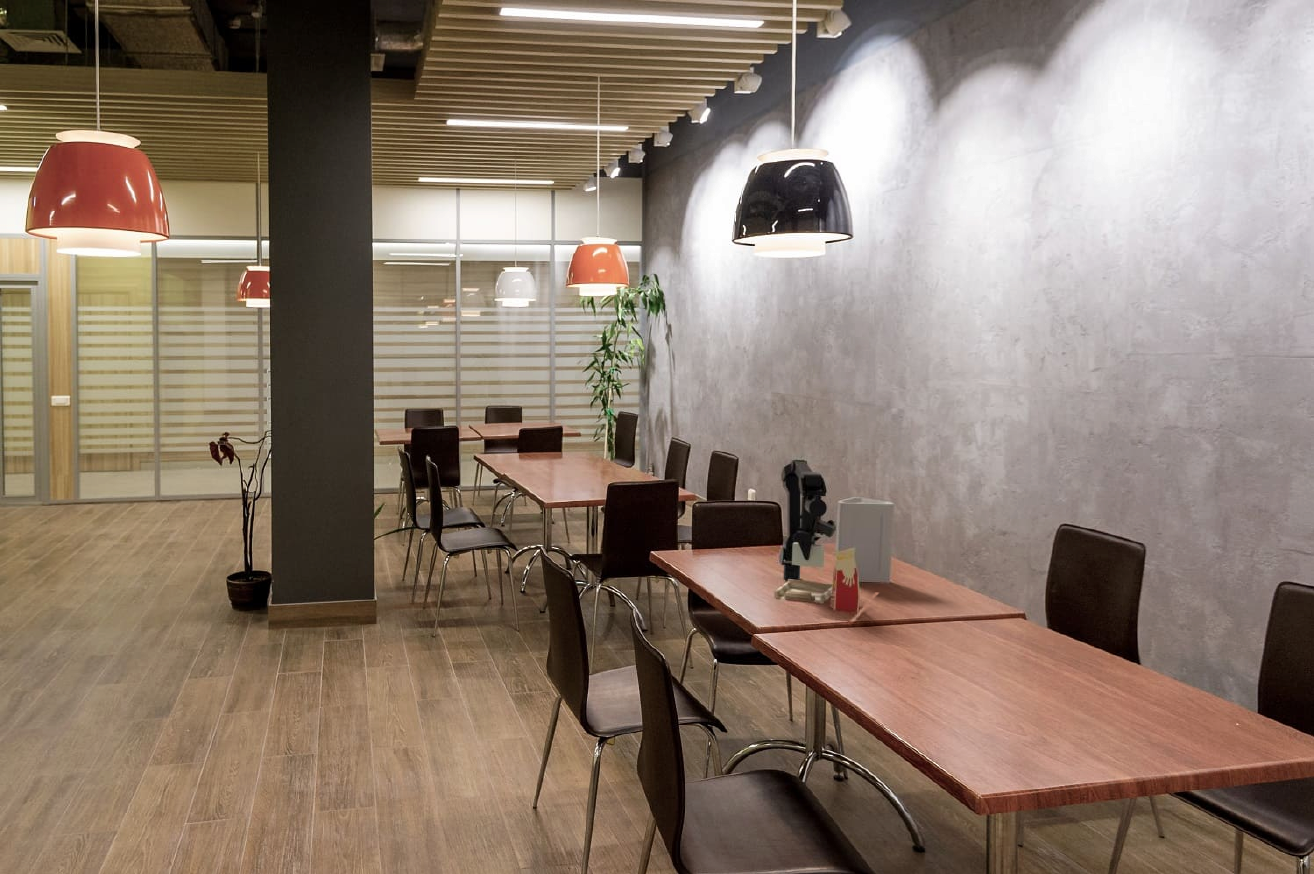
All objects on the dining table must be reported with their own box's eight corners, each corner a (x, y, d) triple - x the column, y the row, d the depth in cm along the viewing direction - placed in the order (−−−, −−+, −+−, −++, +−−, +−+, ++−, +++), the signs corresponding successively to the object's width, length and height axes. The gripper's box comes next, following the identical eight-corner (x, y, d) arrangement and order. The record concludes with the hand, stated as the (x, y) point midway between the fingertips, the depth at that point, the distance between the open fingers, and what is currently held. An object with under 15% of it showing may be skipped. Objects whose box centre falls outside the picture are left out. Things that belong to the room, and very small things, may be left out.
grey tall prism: (879, 574, 387) (883, 498, 385) (890, 583, 373) (894, 504, 370) (827, 573, 386) (831, 496, 384) (837, 582, 371) (840, 503, 369)
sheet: (793, 563, 350) (794, 542, 350) (823, 566, 347) (824, 545, 346) (791, 564, 348) (792, 543, 347) (821, 567, 344) (822, 546, 344)
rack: (788, 589, 358) (788, 578, 358) (835, 594, 352) (835, 584, 352) (774, 600, 341) (774, 589, 341) (823, 606, 336) (823, 595, 335)
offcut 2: (787, 596, 344) (788, 592, 344) (815, 599, 341) (815, 596, 340) (784, 598, 340) (784, 595, 340) (812, 601, 337) (812, 598, 337)
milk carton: (857, 607, 335) (860, 545, 334) (859, 615, 326) (862, 550, 324) (828, 606, 336) (830, 543, 335) (829, 613, 327) (832, 549, 325)
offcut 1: (786, 593, 343) (787, 590, 343) (811, 595, 341) (811, 592, 341) (785, 595, 340) (785, 592, 339) (810, 598, 337) (810, 595, 337)
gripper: (828, 518, 334) (825, 567, 336) (840, 510, 352) (838, 556, 353) (793, 515, 338) (791, 563, 340) (807, 507, 356) (805, 553, 357)
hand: (807, 559), depth 347 cm, fingers closed on sheet, 2 cm apart
